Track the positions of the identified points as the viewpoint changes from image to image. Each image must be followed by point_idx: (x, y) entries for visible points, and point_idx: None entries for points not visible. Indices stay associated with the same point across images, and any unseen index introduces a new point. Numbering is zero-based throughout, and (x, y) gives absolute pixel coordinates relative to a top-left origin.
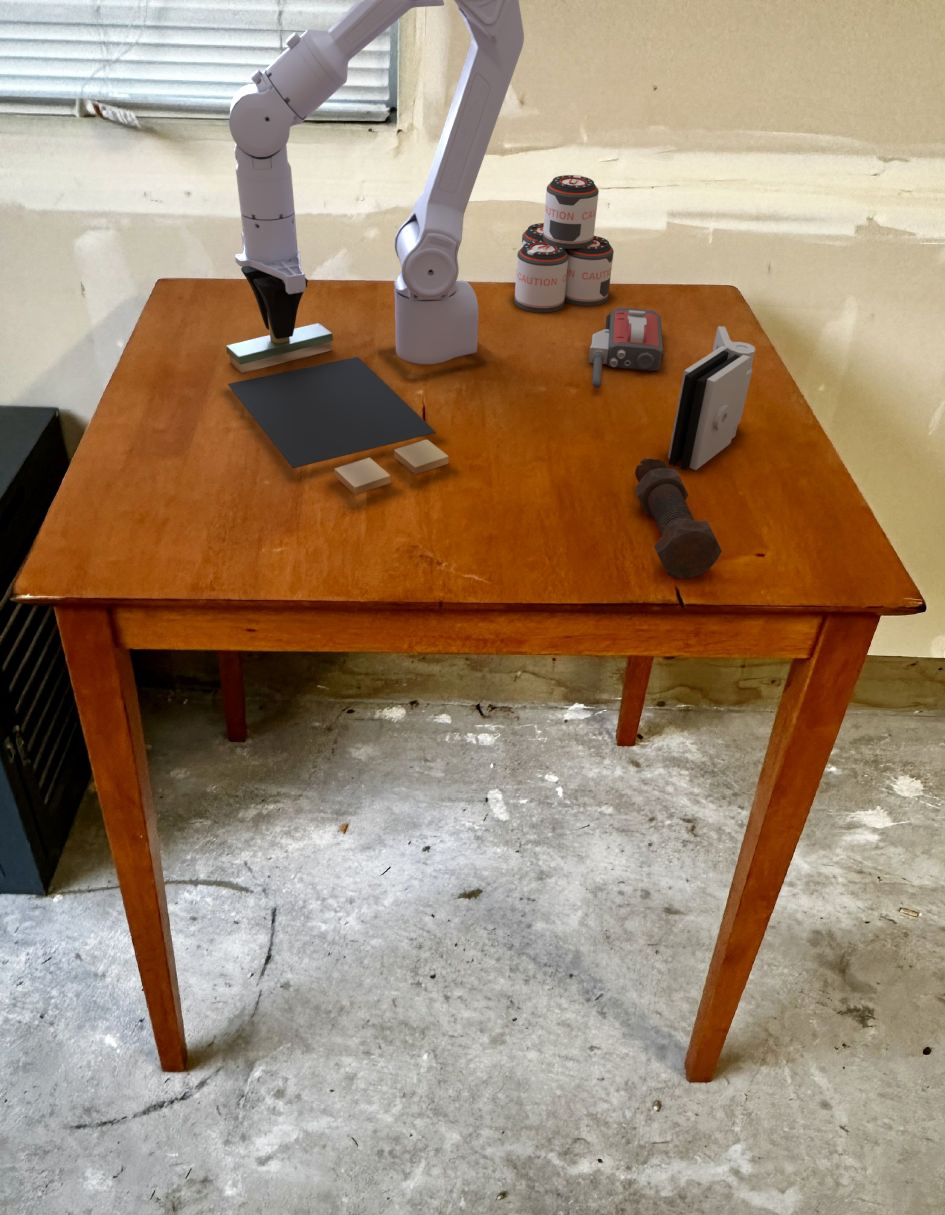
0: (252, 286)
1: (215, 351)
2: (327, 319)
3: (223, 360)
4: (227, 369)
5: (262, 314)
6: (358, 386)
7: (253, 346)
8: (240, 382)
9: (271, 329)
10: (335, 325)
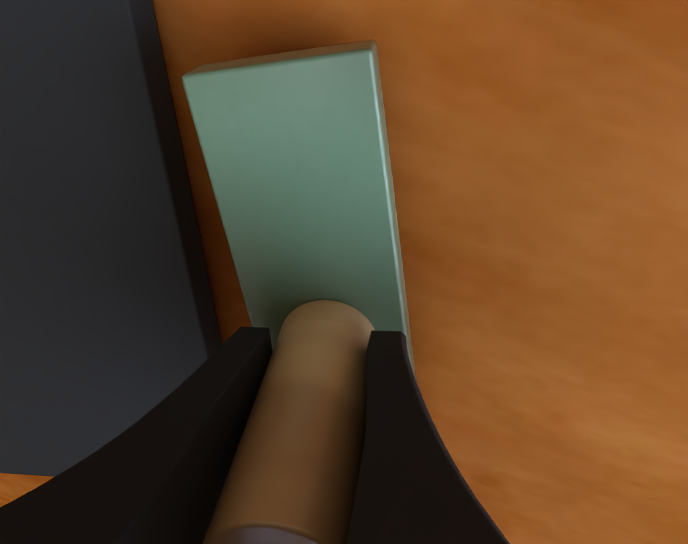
0: (388, 524)
1: (670, 22)
2: (653, 523)
3: (531, 31)
4: (414, 19)
5: (370, 376)
6: (12, 411)
7: (293, 199)
8: (115, 19)
9: (289, 345)
10: (586, 522)
